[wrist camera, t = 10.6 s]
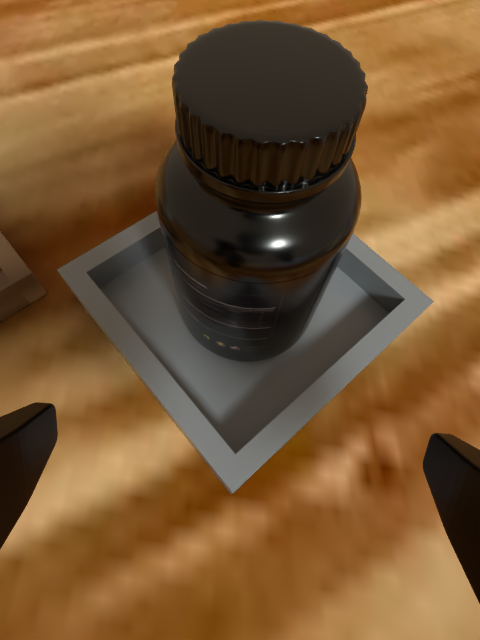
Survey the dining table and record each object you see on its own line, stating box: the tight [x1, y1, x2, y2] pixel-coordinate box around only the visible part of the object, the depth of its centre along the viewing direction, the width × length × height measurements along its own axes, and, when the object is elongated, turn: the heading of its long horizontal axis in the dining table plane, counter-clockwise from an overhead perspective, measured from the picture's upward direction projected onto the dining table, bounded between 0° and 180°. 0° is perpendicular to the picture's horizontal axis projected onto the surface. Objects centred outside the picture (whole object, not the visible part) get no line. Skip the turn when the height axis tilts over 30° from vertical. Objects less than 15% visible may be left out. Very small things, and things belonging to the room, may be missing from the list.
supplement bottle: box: [155, 20, 368, 362], centre depth 15 cm, size 7×7×12 cm
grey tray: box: [57, 211, 434, 494], centre depth 20 cm, size 13×13×2 cm
